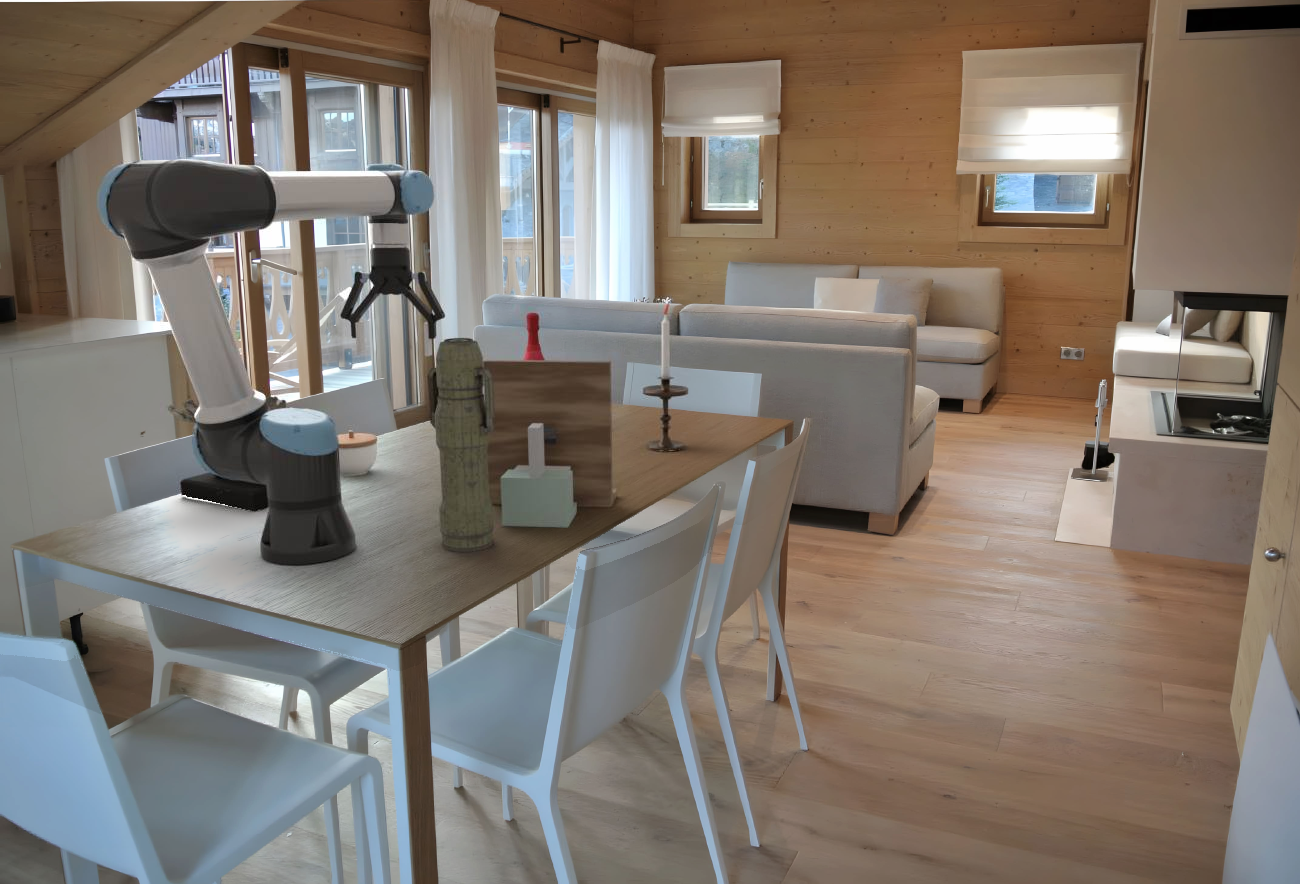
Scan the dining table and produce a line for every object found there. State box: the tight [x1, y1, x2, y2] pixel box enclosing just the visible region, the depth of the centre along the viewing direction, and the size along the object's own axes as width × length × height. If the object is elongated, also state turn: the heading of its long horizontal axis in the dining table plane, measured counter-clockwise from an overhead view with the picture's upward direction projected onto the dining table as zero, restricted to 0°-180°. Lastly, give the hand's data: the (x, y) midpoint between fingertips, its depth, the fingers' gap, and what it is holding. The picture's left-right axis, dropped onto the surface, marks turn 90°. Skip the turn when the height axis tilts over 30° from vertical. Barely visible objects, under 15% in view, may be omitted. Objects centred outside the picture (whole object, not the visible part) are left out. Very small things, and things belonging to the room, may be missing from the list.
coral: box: [166, 395, 290, 513], centre depth 197 cm, size 25×20×21 cm
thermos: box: [426, 337, 495, 553], centre depth 169 cm, size 9×12×35 cm
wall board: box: [483, 359, 618, 508], centre depth 194 cm, size 11×24×28 cm, turn 84°
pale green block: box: [501, 423, 578, 528], centre depth 185 cm, size 9×12×18 cm
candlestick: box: [642, 301, 689, 451], centre depth 240 cm, size 11×11×35 cm
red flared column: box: [522, 312, 545, 360], centre depth 267 cm, size 10×10×30 cm
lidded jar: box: [337, 430, 378, 477], centre depth 220 cm, size 11×11×9 cm
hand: (394, 355), depth 201 cm, fingers open, 13 cm apart
